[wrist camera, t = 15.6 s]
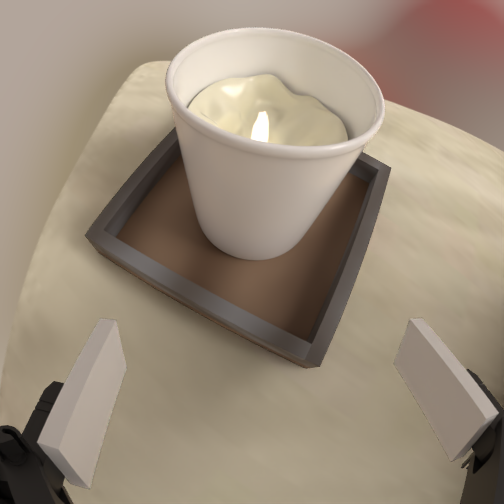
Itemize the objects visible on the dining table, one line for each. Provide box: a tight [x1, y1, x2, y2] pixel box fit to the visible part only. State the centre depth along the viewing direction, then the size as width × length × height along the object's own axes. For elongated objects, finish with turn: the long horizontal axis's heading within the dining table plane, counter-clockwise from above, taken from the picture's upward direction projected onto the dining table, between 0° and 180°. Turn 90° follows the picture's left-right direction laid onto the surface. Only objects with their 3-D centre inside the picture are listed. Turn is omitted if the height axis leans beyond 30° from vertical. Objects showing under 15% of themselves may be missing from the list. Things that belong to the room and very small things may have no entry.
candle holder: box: [165, 27, 385, 261], centre depth 17 cm, size 10×10×12 cm
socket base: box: [85, 127, 391, 368], centre depth 22 cm, size 17×17×3 cm
